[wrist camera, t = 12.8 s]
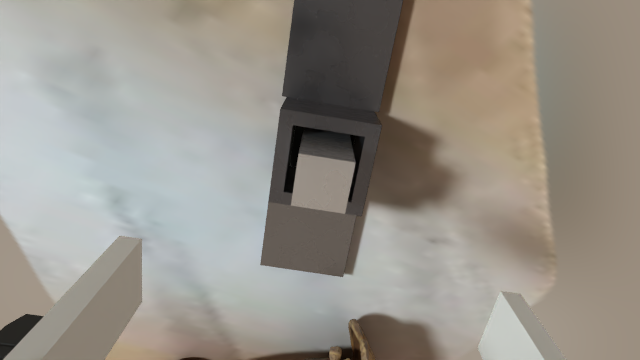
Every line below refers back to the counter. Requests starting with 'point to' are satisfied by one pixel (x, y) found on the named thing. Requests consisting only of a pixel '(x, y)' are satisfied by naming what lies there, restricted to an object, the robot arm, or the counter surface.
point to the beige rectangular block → (323, 171)
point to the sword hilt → (353, 345)
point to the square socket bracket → (328, 122)
